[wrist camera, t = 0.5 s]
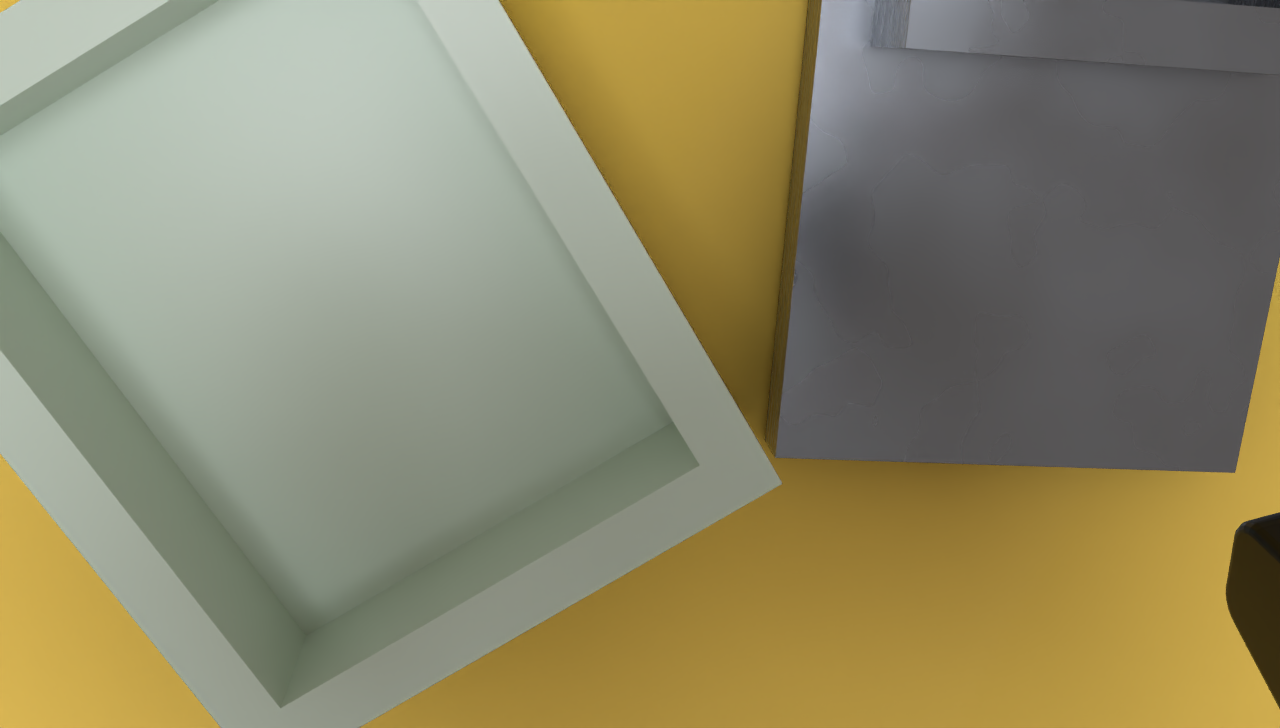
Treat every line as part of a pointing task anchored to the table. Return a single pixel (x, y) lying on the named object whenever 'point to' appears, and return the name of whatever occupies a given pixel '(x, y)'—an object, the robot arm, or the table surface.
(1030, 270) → the grey slab
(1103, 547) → the table surface
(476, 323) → the tray
